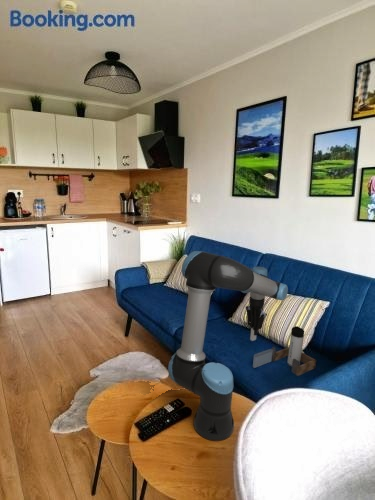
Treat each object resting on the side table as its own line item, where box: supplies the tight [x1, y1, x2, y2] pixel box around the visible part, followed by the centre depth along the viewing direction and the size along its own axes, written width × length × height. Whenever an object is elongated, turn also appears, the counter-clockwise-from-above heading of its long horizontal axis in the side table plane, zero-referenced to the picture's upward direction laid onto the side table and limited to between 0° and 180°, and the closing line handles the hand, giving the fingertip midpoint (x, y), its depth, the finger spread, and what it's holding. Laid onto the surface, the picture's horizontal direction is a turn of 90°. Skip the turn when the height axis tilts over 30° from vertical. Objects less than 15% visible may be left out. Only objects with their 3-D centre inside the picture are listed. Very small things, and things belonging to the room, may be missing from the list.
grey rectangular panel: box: [252, 348, 273, 369], centre depth 165 cm, size 12×1×7 cm, turn 124°
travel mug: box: [287, 325, 305, 368], centre depth 166 cm, size 6×7×20 cm
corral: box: [270, 346, 317, 377], centre depth 167 cm, size 16×16×8 cm
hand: (253, 339), depth 168 cm, fingers closed
